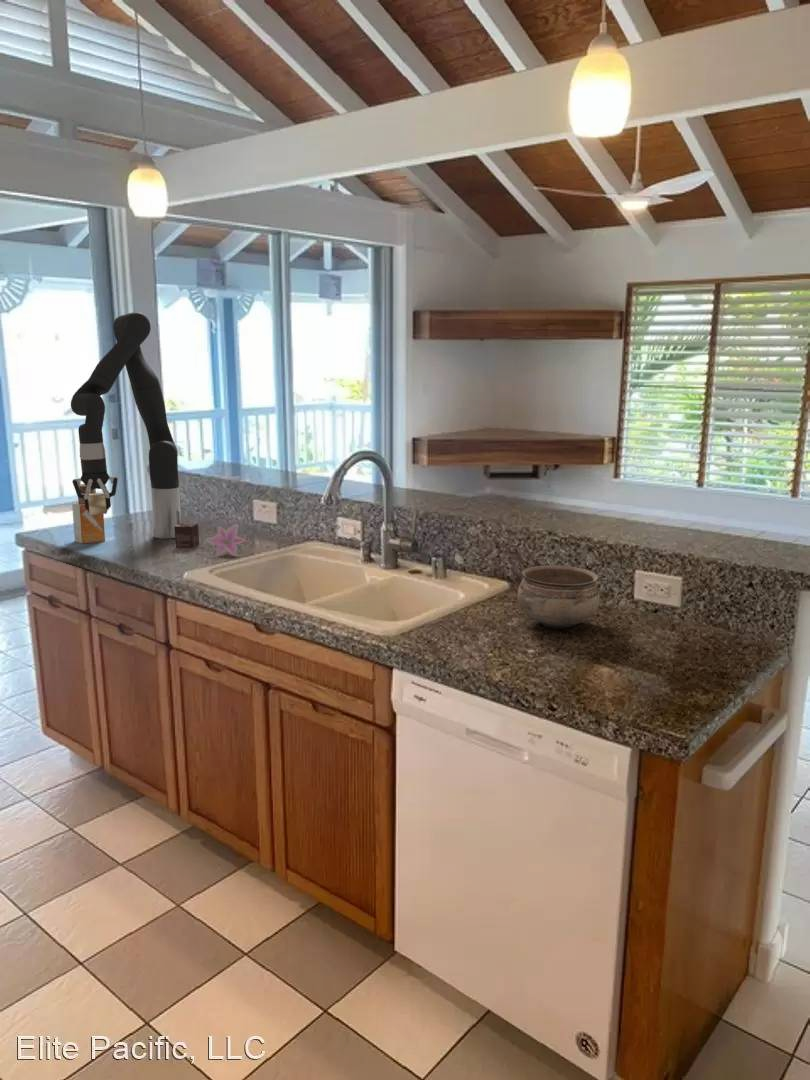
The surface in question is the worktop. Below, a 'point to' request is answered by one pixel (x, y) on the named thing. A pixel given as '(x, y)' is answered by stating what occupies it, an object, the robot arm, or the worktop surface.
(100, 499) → the maple block
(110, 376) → the robot arm
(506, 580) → the worktop surface
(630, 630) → the worktop surface
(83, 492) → the walnut block
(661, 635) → the worktop surface
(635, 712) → the worktop surface
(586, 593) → the cooking pot
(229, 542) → the lily
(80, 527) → the small box
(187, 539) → the box
